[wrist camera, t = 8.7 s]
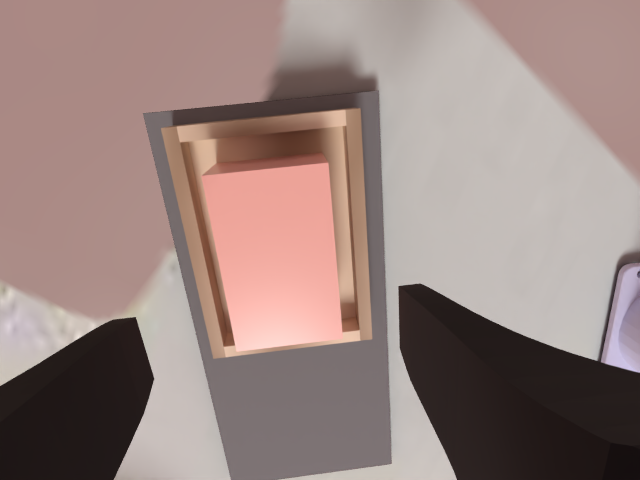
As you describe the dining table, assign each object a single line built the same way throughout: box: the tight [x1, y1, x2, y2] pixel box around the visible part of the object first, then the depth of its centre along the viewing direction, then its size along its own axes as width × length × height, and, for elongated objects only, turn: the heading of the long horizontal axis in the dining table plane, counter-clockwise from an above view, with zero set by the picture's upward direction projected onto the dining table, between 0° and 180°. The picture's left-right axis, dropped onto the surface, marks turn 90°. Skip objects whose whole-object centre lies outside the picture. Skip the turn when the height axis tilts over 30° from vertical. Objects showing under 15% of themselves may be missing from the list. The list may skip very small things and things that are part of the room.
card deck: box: [201, 152, 343, 352], centre depth 16 cm, size 8×5×3 cm, turn 5°
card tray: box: [161, 108, 372, 359], centre depth 17 cm, size 8×11×2 cm
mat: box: [143, 91, 392, 480], centre depth 20 cm, size 10×22×1 cm, turn 5°
